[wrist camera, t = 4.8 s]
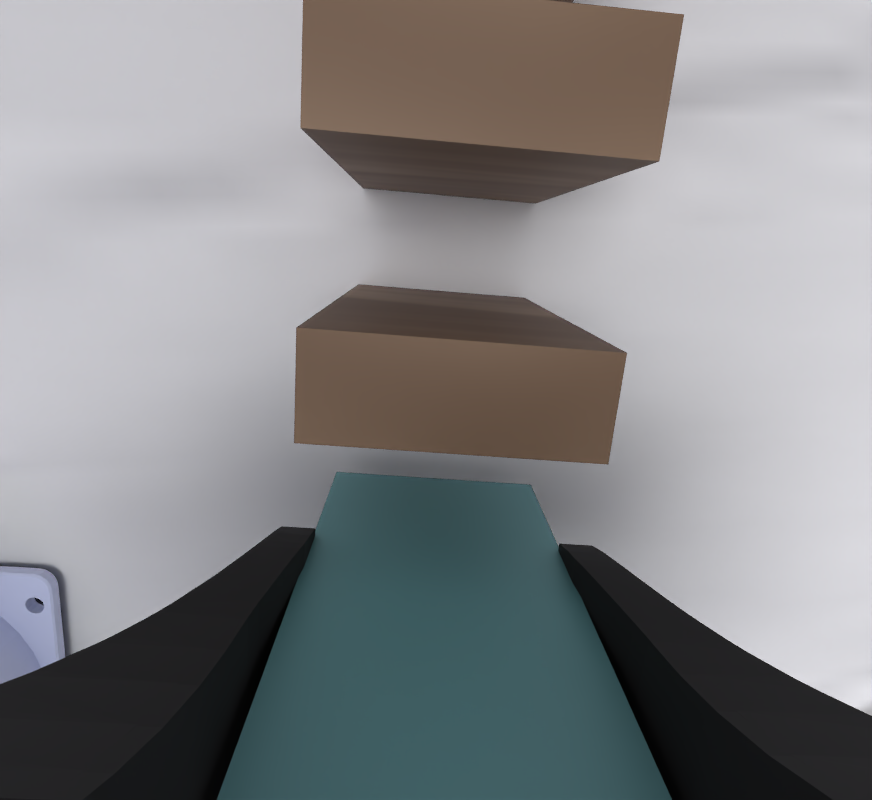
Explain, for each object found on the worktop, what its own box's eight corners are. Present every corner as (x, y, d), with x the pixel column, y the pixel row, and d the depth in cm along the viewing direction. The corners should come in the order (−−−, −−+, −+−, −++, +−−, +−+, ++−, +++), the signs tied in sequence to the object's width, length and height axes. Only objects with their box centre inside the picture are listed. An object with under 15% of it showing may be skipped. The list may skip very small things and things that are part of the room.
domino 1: (535, 203, 15) (659, 161, 7) (363, 187, 15) (300, 128, 7) (543, 136, 15) (683, 14, 7) (366, 119, 14) (304, -26, 7)
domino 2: (517, 356, 16) (608, 464, 8) (355, 344, 16) (294, 443, 8) (524, 297, 16) (627, 353, 8) (358, 284, 15) (296, 327, 8)
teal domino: (521, 547, 14) (651, 941, 6) (334, 535, 14) (217, 928, 6) (530, 484, 13) (681, 821, 6) (336, 471, 13) (215, 802, 5)
